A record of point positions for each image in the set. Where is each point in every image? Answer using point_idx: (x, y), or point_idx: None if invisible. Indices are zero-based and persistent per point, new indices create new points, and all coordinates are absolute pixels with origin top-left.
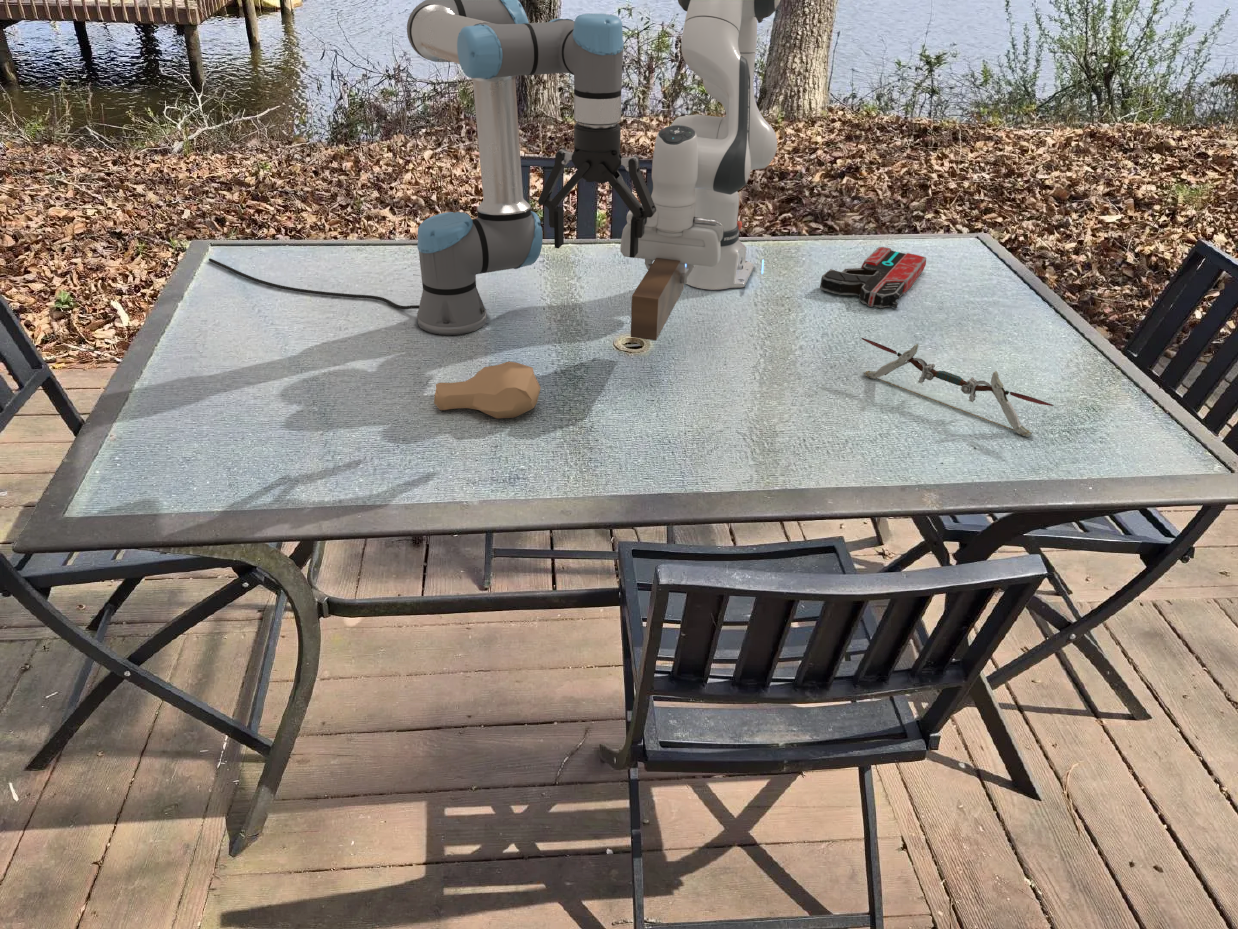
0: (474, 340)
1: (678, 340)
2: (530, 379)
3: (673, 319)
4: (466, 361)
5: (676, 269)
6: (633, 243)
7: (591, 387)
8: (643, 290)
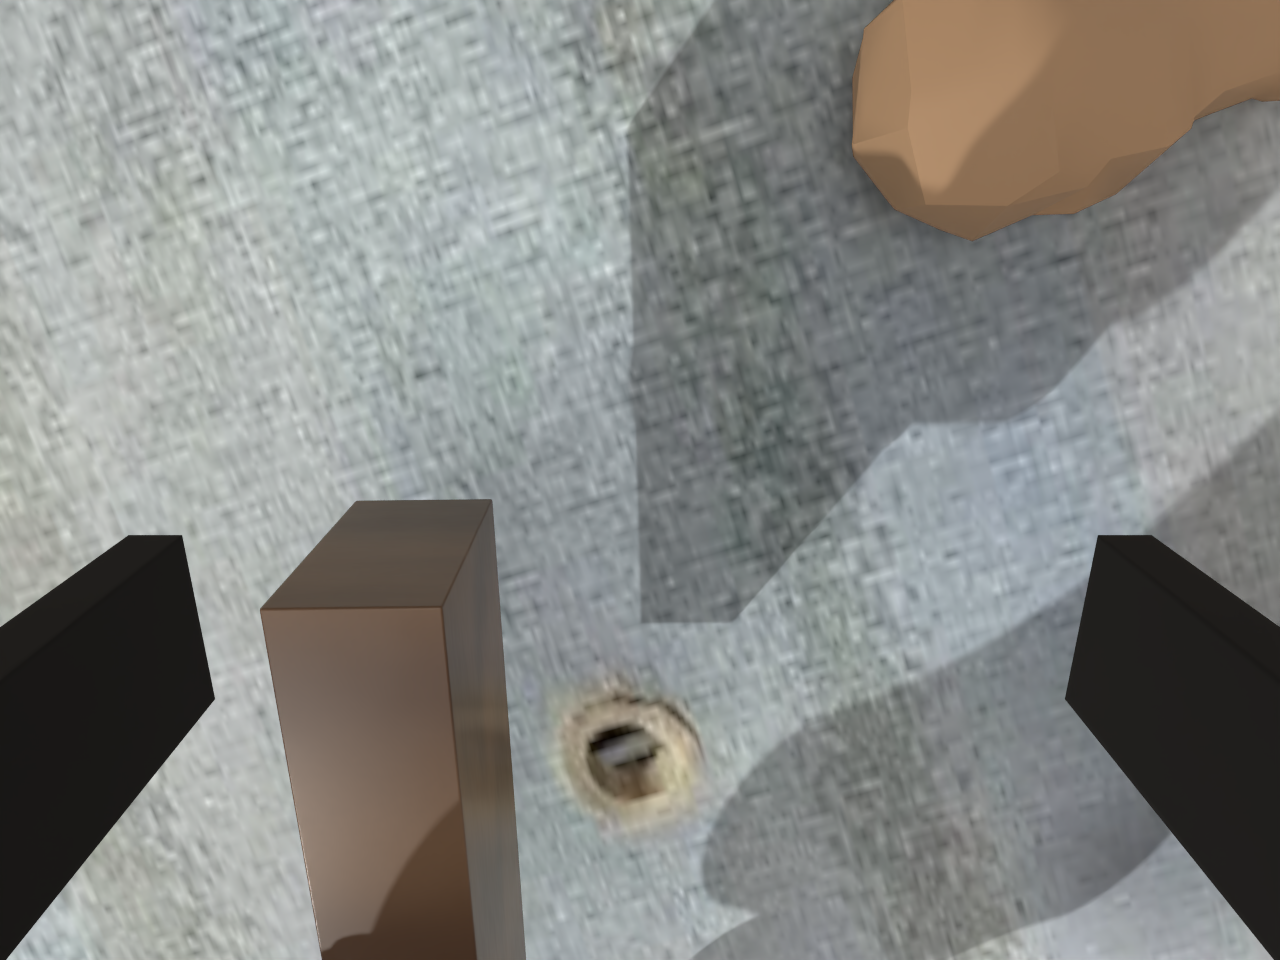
0: None
1: None
2: (905, 74)
3: (543, 956)
4: (1233, 448)
5: None
6: (16, 624)
7: (681, 400)
8: (398, 699)
